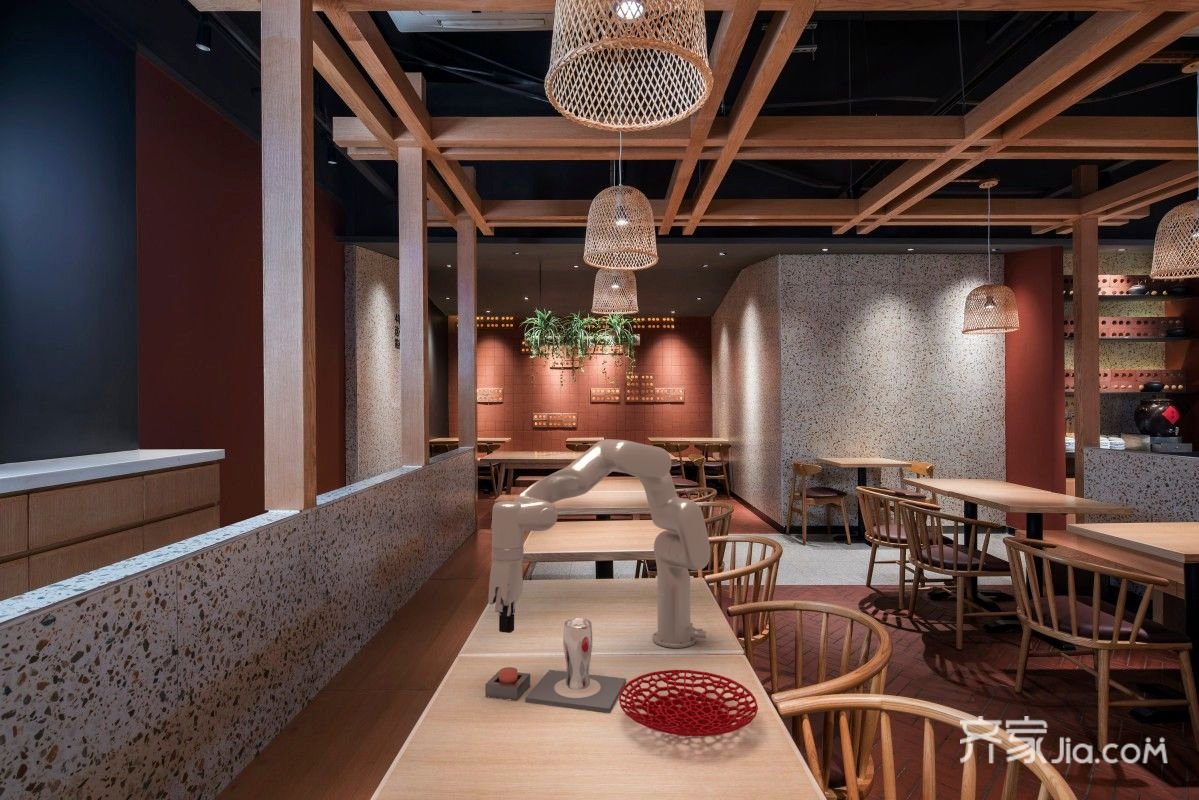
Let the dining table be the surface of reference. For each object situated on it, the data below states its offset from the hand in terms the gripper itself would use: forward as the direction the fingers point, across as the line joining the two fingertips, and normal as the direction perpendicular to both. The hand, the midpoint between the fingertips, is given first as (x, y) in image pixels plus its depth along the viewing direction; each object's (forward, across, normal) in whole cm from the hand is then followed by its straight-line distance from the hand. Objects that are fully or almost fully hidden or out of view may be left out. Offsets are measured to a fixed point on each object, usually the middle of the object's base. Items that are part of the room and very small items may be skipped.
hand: (506, 631), depth 148 cm
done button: (+13, 0, 0) cm, 13 cm away
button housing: (+14, 0, 0) cm, 14 cm away
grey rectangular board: (+14, -4, +16) cm, 22 cm away
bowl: (+14, +2, +43) cm, 46 cm away
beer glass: (+13, -5, +16) cm, 22 cm away
